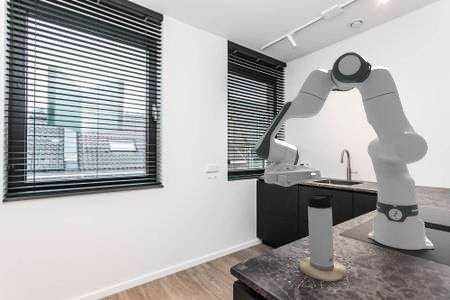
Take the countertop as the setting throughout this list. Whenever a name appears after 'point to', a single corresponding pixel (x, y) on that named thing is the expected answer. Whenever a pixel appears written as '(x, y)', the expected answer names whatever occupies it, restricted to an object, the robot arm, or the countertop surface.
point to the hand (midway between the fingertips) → (301, 177)
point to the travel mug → (320, 232)
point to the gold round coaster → (330, 275)
